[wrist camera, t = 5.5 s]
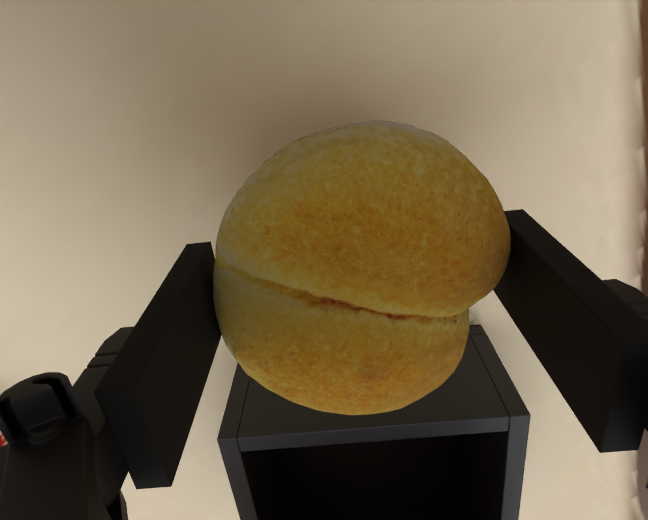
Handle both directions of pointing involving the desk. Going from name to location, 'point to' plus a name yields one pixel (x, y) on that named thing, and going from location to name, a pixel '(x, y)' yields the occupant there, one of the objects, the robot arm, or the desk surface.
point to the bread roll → (357, 266)
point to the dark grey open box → (382, 451)
